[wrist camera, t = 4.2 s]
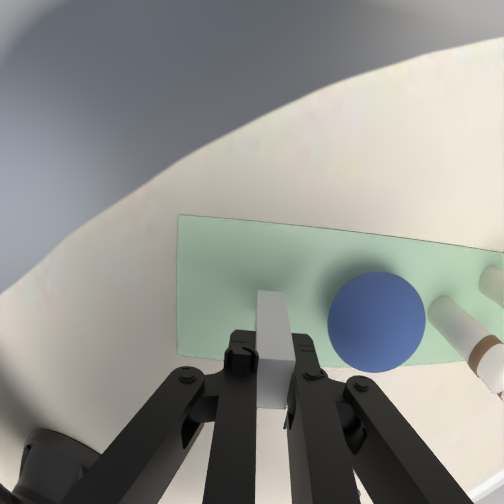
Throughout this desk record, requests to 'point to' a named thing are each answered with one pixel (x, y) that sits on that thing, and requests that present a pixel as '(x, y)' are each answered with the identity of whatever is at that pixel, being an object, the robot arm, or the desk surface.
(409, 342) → the ball
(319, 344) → the lane mark
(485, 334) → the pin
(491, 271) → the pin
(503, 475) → the desk surface
